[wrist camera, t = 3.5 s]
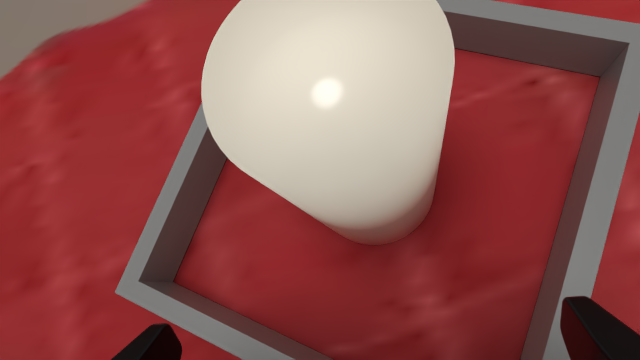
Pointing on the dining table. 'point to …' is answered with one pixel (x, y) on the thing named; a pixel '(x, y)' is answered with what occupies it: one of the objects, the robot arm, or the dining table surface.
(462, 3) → the frame
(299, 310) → the dining table surface
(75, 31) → the dining table surface
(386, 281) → the dining table surface
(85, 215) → the dining table surface
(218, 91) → the white pillar candle
